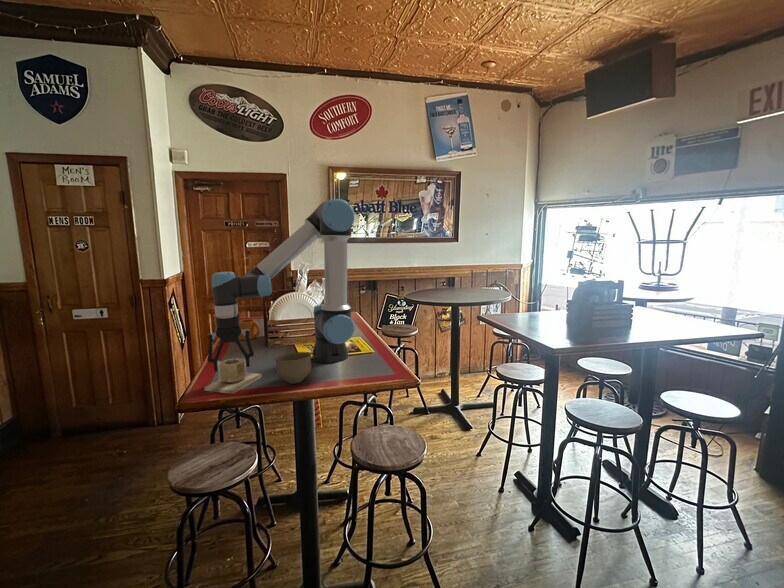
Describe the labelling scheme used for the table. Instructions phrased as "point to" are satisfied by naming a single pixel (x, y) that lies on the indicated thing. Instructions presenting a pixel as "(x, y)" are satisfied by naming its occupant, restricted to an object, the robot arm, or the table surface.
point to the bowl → (293, 366)
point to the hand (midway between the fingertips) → (233, 377)
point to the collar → (232, 370)
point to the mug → (251, 326)
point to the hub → (232, 383)
